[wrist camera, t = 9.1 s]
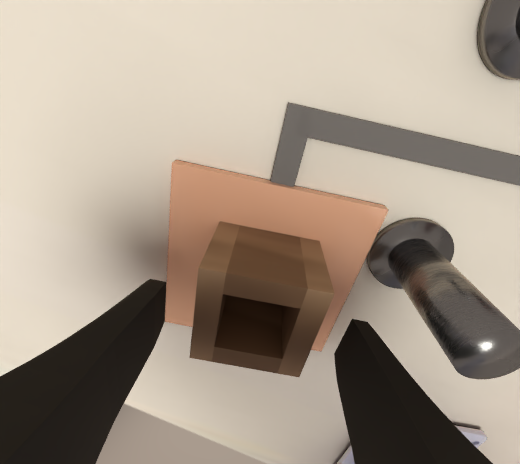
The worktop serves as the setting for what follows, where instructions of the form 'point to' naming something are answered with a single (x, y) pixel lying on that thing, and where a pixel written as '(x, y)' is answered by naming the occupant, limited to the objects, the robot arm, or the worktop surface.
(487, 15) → the post
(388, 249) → the post
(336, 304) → the pad
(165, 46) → the worktop surface
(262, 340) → the open wooden crate
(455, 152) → the grey flat l-shaped piece
